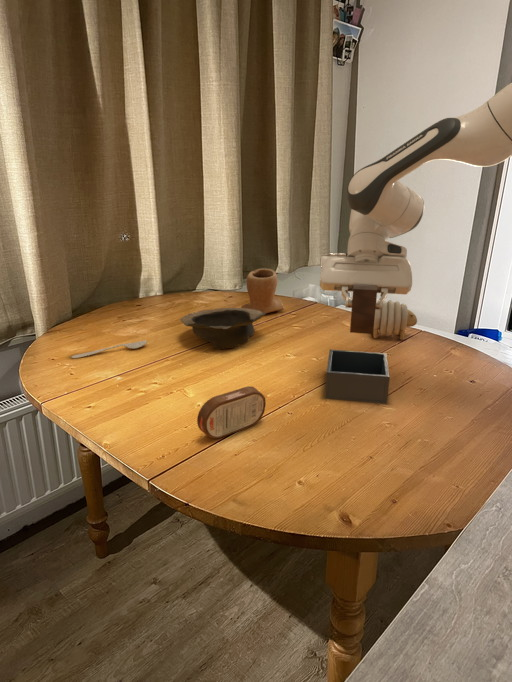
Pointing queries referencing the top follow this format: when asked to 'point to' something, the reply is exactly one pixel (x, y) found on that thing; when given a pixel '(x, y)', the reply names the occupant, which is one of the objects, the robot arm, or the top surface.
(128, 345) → the spoon
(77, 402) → the top surface
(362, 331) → the block
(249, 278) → the terracotta vase
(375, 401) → the gray open box
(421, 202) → the robot arm
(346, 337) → the top surface
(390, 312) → the toy sheep
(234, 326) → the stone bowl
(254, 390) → the tin
